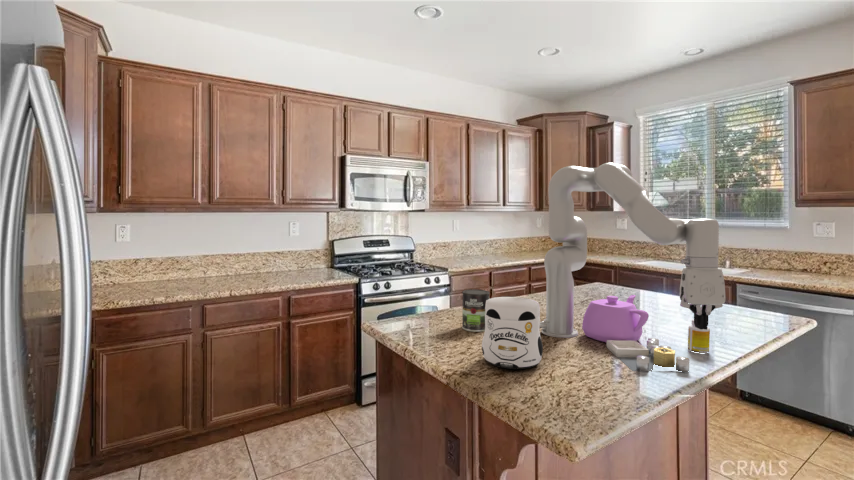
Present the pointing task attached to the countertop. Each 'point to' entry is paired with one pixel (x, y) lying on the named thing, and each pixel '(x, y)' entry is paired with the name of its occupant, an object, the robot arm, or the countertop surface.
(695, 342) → the supplement bottle
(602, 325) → the teapot
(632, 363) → the mat
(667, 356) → the nut
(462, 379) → the countertop surface
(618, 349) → the dish
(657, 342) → the spacers
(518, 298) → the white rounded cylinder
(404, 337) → the countertop surface
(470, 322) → the coffee can
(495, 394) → the countertop surface
